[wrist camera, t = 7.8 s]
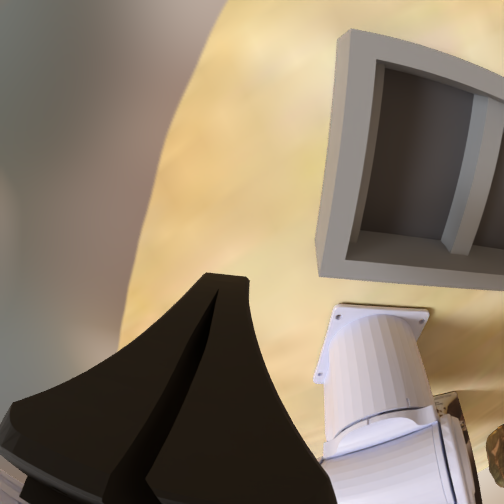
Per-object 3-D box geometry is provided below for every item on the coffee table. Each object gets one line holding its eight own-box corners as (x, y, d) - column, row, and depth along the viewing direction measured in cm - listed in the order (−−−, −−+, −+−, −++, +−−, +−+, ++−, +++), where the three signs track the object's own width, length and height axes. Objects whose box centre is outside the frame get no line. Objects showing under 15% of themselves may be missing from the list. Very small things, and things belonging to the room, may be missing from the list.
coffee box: (457, 388, 27) (487, 514, 14) (443, 416, 30) (463, 526, 17) (383, 403, 29) (397, 542, 15) (376, 429, 32) (384, 547, 19)
